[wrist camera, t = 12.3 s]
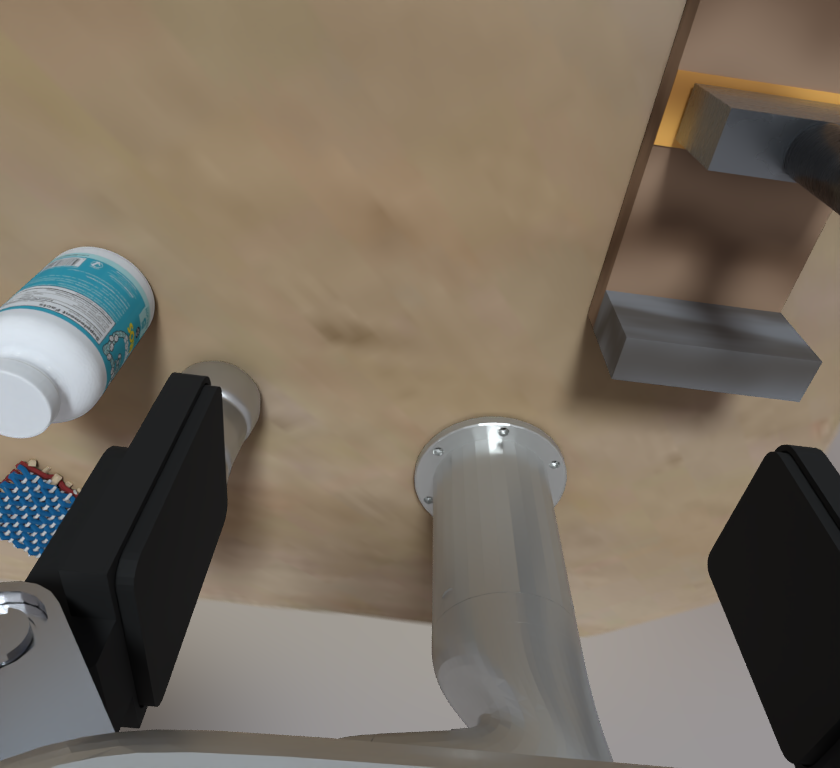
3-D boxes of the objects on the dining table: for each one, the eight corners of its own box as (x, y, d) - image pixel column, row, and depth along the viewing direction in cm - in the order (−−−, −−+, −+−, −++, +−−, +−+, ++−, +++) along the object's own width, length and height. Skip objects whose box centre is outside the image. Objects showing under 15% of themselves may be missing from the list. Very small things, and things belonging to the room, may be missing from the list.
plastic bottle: (179, 342, 50) (52, 554, 33) (270, 358, 50) (190, 573, 34) (179, 409, 53) (65, 630, 37) (264, 423, 54) (190, 646, 38)
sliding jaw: (842, 163, 39) (1041, 287, 26) (675, 139, 38) (794, 253, 25) (869, 109, 37) (1097, 213, 24) (694, 83, 36) (833, 175, 24)
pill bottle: (122, 353, 50) (33, 478, 39) (31, 288, 47) (-92, 403, 36) (180, 293, 47) (101, 409, 36) (86, 219, 44) (-30, 322, 33)
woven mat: (77, 564, 65) (68, 581, 64) (-26, 506, 61) (-40, 523, 59) (137, 514, 61) (129, 531, 59) (30, 448, 57) (18, 464, 55)
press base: (750, 335, 48) (799, 401, 42) (587, 314, 48) (611, 378, 41) (967, -110, 33) (1096, -115, 27) (734, -150, 33) (809, -165, 26)
